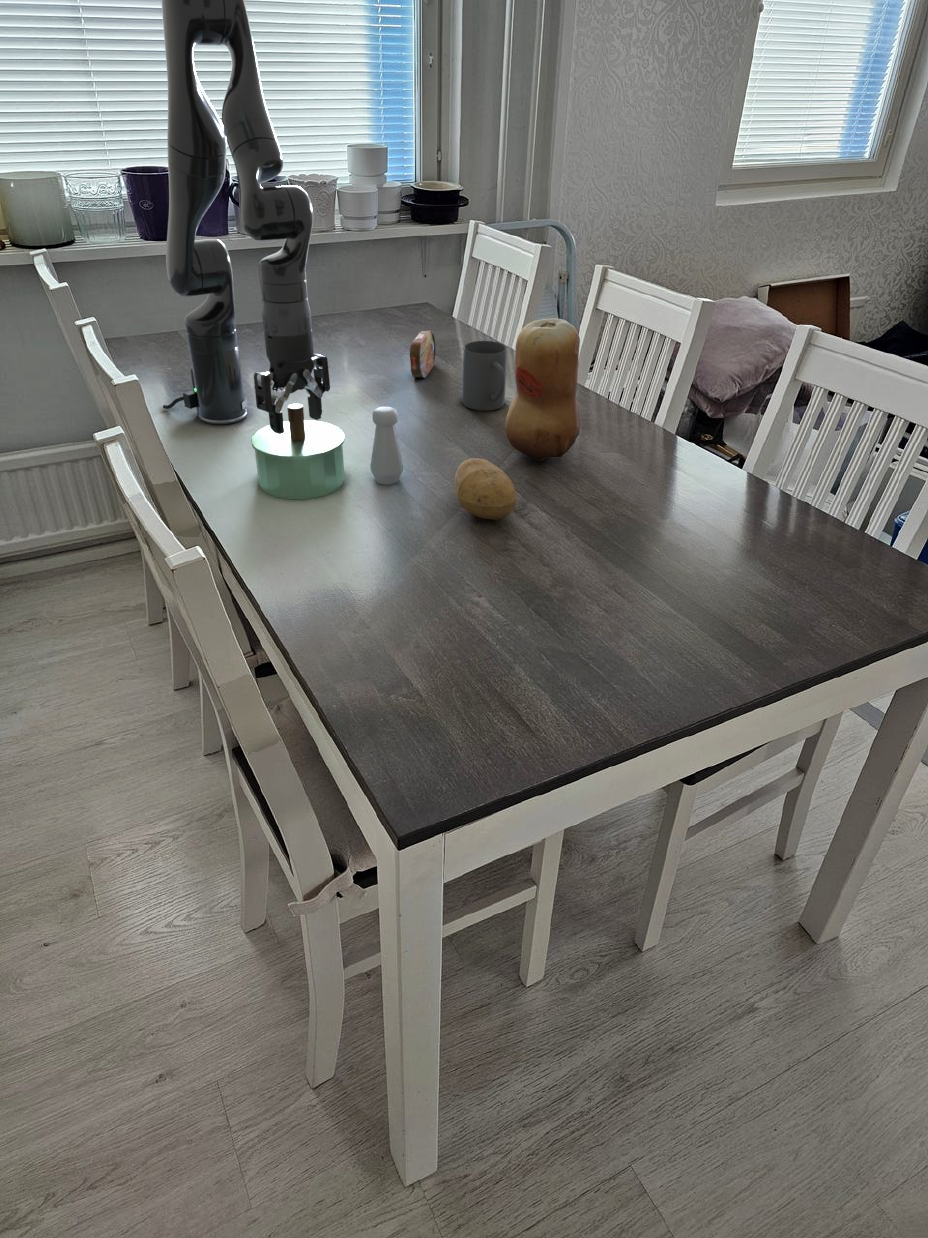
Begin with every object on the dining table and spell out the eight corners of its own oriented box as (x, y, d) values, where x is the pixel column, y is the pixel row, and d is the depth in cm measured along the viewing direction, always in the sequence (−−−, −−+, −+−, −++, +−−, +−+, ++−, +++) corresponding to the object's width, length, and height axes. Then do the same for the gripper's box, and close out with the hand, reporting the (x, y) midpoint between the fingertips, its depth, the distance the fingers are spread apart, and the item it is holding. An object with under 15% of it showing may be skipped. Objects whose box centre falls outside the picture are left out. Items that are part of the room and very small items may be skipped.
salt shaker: (370, 472, 153) (367, 402, 146) (403, 472, 154) (401, 402, 146) (370, 487, 148) (367, 415, 141) (403, 486, 149) (402, 415, 141)
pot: (243, 491, 146) (237, 450, 142) (285, 458, 158) (281, 419, 153) (321, 505, 142) (317, 464, 138) (357, 470, 154) (355, 431, 150)
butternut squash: (489, 456, 160) (494, 320, 146) (534, 436, 168) (543, 305, 154) (547, 479, 152) (559, 337, 138) (591, 457, 161) (607, 322, 146)
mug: (455, 398, 185) (456, 342, 178) (493, 393, 188) (495, 338, 181) (481, 421, 174) (483, 362, 167) (521, 415, 177) (524, 357, 171)
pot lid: (234, 454, 142) (228, 415, 138) (280, 421, 154) (276, 385, 150) (319, 468, 138) (316, 429, 134) (359, 433, 150) (357, 396, 146)
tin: (421, 382, 192) (421, 345, 188) (408, 381, 193) (407, 344, 188) (436, 362, 205) (436, 326, 200) (423, 361, 205) (423, 325, 200)
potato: (473, 538, 134) (474, 492, 130) (442, 500, 145) (443, 456, 140) (529, 528, 137) (533, 483, 133) (495, 491, 148) (497, 448, 143)
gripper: (304, 313, 141) (312, 408, 151) (236, 332, 132) (249, 432, 141) (337, 322, 138) (343, 419, 147) (268, 341, 128) (279, 444, 138)
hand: (297, 425), depth 144 cm, fingers open, 8 cm apart
